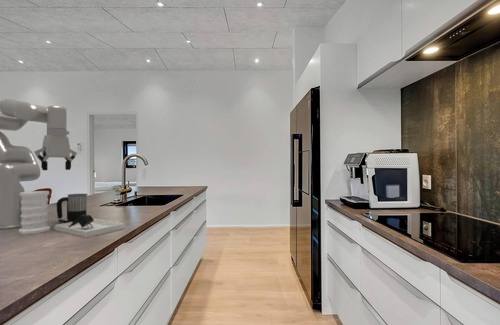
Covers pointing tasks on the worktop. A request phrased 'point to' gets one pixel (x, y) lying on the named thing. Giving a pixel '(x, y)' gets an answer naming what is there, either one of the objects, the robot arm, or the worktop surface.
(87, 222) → the power plug
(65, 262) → the worktop surface
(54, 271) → the worktop surface
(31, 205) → the decorative container
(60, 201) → the milk frother
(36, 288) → the worktop surface
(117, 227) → the tray
